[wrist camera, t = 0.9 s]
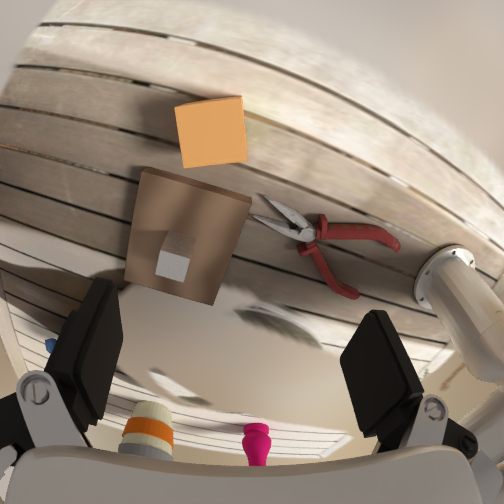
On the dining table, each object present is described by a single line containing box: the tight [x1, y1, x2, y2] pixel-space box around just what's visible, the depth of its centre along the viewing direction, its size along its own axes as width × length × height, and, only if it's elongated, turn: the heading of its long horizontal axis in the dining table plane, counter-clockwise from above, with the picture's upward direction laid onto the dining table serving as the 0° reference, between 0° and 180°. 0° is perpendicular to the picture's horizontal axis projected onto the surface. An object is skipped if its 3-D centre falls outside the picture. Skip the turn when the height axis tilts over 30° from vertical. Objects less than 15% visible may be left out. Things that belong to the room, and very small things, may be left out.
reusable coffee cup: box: [118, 401, 173, 461], centre depth 56 cm, size 13×13×15 cm
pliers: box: [252, 195, 400, 300], centre depth 38 cm, size 12×20×3 cm, turn 60°
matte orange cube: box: [174, 96, 247, 168], centre depth 28 cm, size 6×6×6 cm
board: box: [124, 166, 252, 306], centre depth 35 cm, size 13×16×6 cm
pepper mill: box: [242, 423, 271, 466], centre depth 59 cm, size 7×7×20 cm
